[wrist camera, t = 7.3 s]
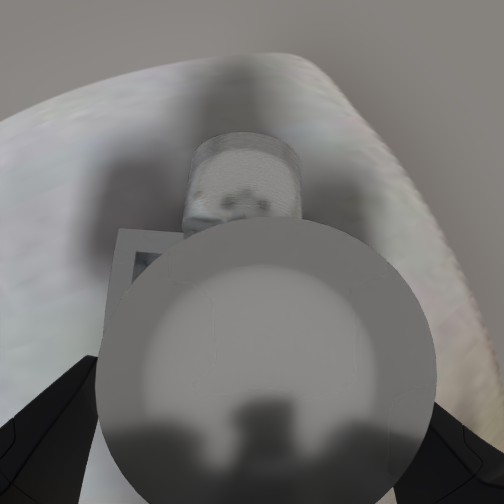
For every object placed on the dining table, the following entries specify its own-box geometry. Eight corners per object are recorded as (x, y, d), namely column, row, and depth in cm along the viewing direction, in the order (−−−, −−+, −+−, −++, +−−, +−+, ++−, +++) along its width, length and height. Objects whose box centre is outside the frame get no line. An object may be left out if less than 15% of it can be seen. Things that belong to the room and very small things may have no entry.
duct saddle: (340, 384, 16) (396, 396, 10) (115, 373, 15) (70, 382, 9) (336, 204, 20) (377, 153, 14) (141, 185, 18) (120, 125, 13)
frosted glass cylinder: (302, 360, 16) (487, 363, 4) (230, 430, 15) (277, 592, 2) (232, 289, 17) (281, 139, 5) (157, 357, 15) (13, 368, 3)
